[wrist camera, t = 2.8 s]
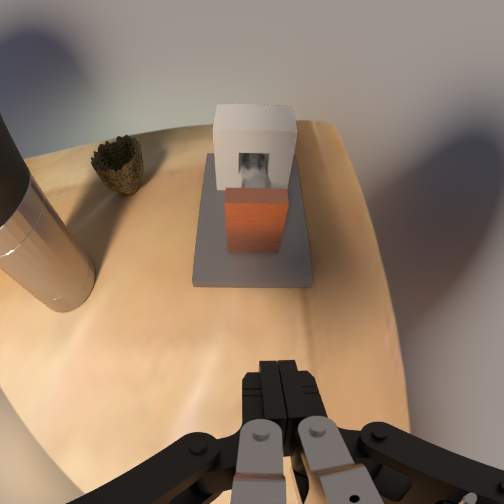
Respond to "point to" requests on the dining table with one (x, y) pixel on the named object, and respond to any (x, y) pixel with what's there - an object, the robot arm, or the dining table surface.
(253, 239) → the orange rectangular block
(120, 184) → the cup
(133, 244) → the dining table surface
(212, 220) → the peg hole fixture
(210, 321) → the dining table surface
